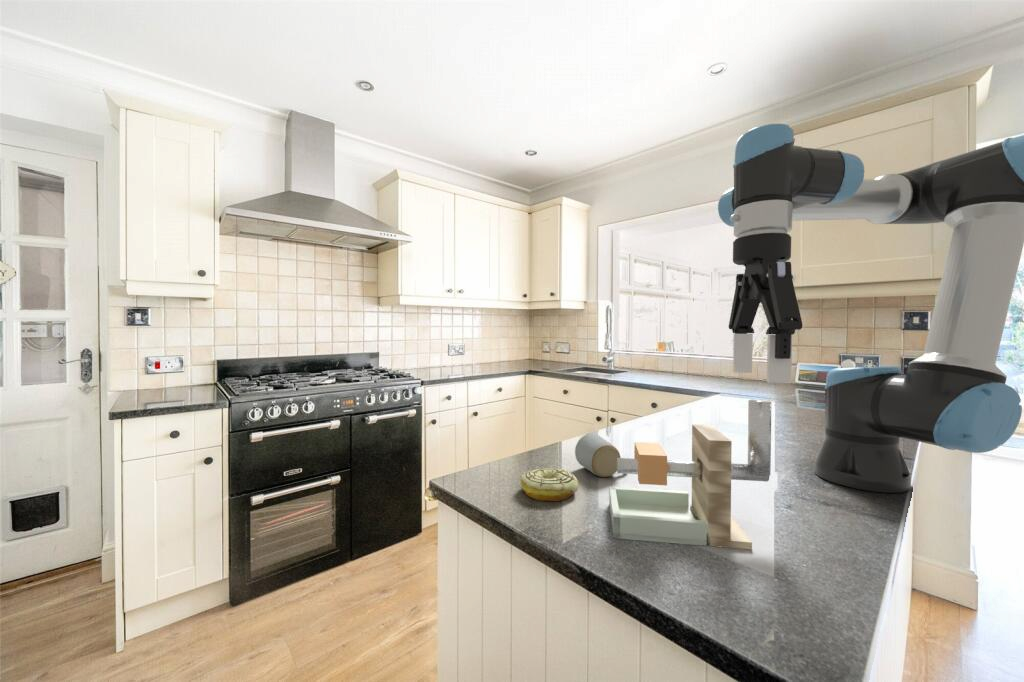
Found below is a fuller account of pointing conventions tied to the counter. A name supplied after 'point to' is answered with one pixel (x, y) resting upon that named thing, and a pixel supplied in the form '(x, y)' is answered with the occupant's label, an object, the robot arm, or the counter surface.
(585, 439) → the ceramic mug
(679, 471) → the grey l-shaped bar
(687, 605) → the counter surface
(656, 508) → the tray
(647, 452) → the block
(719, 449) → the bracket
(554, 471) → the decorated donut
